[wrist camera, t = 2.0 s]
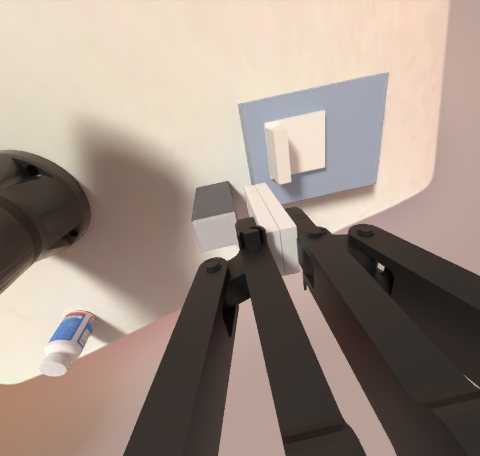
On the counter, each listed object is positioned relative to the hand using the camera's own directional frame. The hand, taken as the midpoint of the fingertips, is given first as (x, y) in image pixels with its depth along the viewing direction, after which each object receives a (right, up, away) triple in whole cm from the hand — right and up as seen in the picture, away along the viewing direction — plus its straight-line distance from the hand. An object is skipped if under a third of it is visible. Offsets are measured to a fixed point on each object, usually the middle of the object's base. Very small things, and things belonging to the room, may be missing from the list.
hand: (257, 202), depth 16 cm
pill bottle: (-33, -20, +29) cm, 48 cm away
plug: (-5, +3, +20) cm, 21 cm away
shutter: (+6, +9, +13) cm, 17 cm away
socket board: (+9, +11, +18) cm, 22 cm away
